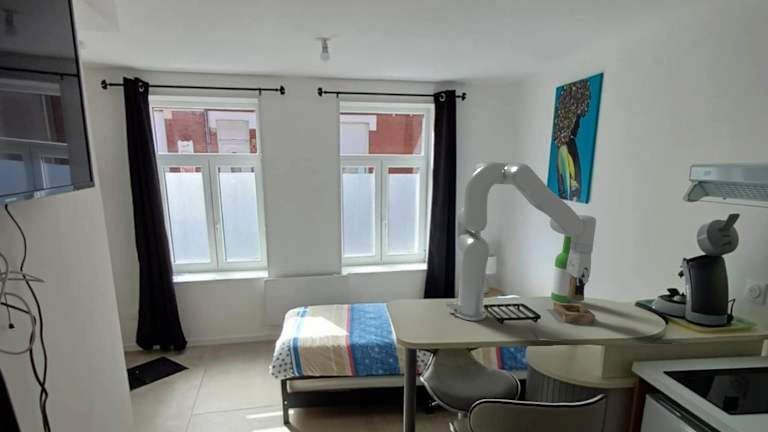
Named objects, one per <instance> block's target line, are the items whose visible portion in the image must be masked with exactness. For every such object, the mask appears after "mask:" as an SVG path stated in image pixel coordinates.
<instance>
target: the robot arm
mask: <svg viewBox="0 0 768 432" xmlns="http://www.w3.org/2000/svg"><path fill="white" fill-rule="evenodd" d="M495 185H511V186H513V187H515V189H516V190H517V191H518V192H520V193H521V195H522V196H523V197H524V198H525V200H527V202H528V203H529V204H530V205H531V206H533V208H534V209H536V210H538V211H540V212H542V213H544V215H546V216H548V218H550V220H549V226H550V228H551V229H552V230H553V231H555V232H556V233H558V234H561V235H566V236H568V237H572V238H571V247H570V252H569V256H568V262H567V268H566V270H567V272H568V273H569V274H570V284H571V280H572V278H571V275H572V276H574V277H575V278H577V285H575V293H574V294H575V295H578V294H580V295H581V296H583V295H584V296H585V287H586V284H588V283H589V278H590V277H591V276H590V274H591V270H592V253H593V248H594V241H595V235H596V234H595V232H596V225H597V218H596V217H595V216H592V215H585V214H578V213H576V212H575V210H573V208H572V207H571V206H570V205H569V204H568V203H566V202H565V201H564V200H563V199H562V198H561V197H559V196H558V195H557V194H556V193H554V192H553V191H552V190H551V189H550V188H549V187H548V186H547V185H546V184H545V182H544V181H543V180H542V179H541V178H540V177H539V176H538V174H537V173H536V172H535V171H534V170H533V169H532V168H531V167H530V166H529V165H528V164H526V163H521V162H520V163H519V162H509V163H508V162H497V161H492V160H490V161H481V162H479V163H478V164H476V165H475V167H474V168H473V174H472V175H471V176H470V178H469V179H468V180H467V182H466V185H465V188H464V197H463V198H464V199H463V207H461V209H460V210H459V211H458V214H457V217H456V218H457V221H456V223H457V228H456V230H457V231H456V232H457V233H456V235H457V238H456V241H457V247H458V248H459V249H458V250H460V251H461V253H462V259H461V264H460V271H459V286H458V288H459V289H458V290H459V291H458V299H456V301H454V302H449V301H446V302H445V307H446V308H449V309H450V310H453V314H454V315H455V317H457V318H460V319H462V320H466V321H472V322H473V321H475V322H476V321H478V322H479V321H482V320H485V319H486V318H487V313H486V311H485V310H484V309H483V307H484V297H485V287H486V286H485V285H486V275H487V274H486V273H487V266H488V261H489V258H490V257H489V256H490V247H489V246H490V245H489V243H488V242H487V240H485V238H483V237H482V236H481V233H482V231H484V230H485V229H486V228H487V224H488V198H489V193H490V190H491V189H492V187H493V186H495ZM581 276H583V278H582V277H581ZM580 279H583V280H581V281H580ZM569 287H570V285H569Z"/></svg>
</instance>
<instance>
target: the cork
mask: <svg viewBox="0 0 768 432" xmlns="http://www.w3.org/2000/svg"><path fill="white" fill-rule="evenodd" d="M581 277H582V278H583V276H581ZM571 278H572V280H571V284H570V287H569V291H568V295H567V297H568V298H569V299H570V300H571V301H574V302H575V301H576V302H583V301H584V300H585V294H584V295H583V296H581V295H580V294H578V295H575V294H574V293H575V285H577V278H575V277H574V276H572V275H571ZM581 280H583V279H580V281H581Z"/></svg>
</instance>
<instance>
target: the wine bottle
mask: <svg viewBox="0 0 768 432" xmlns="http://www.w3.org/2000/svg"><path fill="white" fill-rule="evenodd" d="M563 235H564V234H563ZM571 239H572V237H568V236H566V235H564V236H563V242H562V251H561V252H560V253H559V254H557V255H556V257H555V261H554V266H553V267H554V268H553V277H552V283H551V291H550V292H551V293H550V294H551V295H550V296H551V297H550V298H551V300H553V301H555V302H556V303H569V302H570V301H571V299H569V298H568V297H567V295H568V291H569V285H570V274H569V273H568V272H567V270H566V268H567V262H568V256H569V252H570V247H571Z"/></svg>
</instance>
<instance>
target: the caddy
mask: <svg viewBox="0 0 768 432" xmlns="http://www.w3.org/2000/svg"><path fill="white" fill-rule="evenodd" d="M552 310H553V311H554V312H555V313H556V314H557V315H558V316H559V317H560V318H561V319H562V320H563V321H564V322H569V323H584V324H595V320H596V319H595V318H596V314H594V313H593V312H591V311H590V310H589V309H588V308H587V307H586V306H584V305H583V304H582V303H569V302H567V303H562V302H553V307H552Z"/></svg>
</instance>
